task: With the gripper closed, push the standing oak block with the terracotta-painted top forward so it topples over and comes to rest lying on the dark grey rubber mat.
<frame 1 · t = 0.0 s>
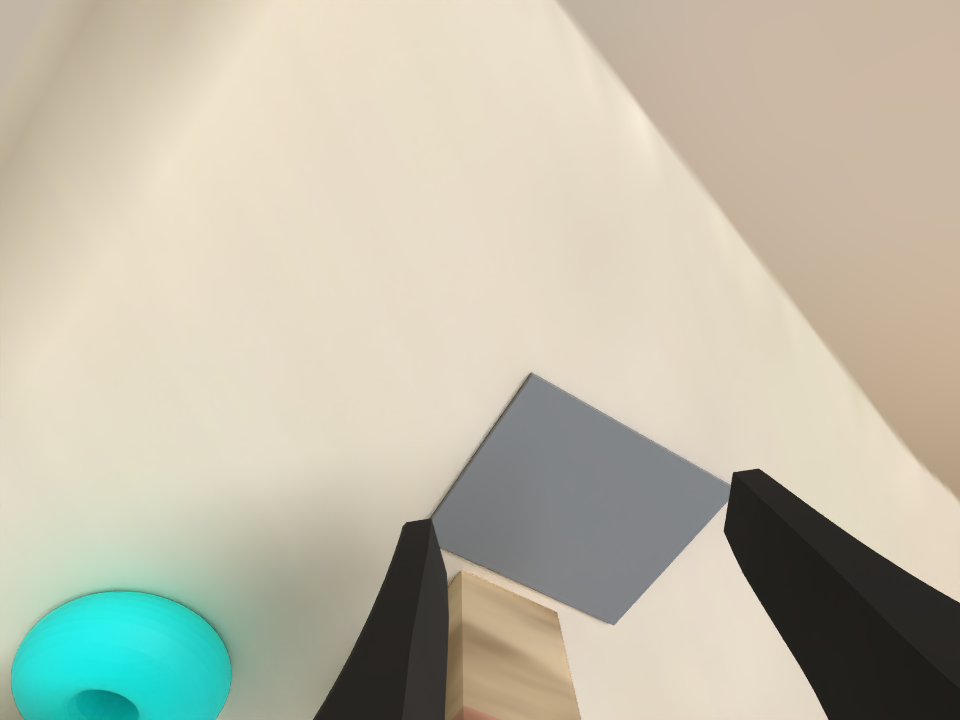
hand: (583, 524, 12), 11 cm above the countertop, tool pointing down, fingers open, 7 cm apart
oak block: (490, 616, 27), on the countertop
rubber mat: (576, 510, 25), on the countertop
donuts: (146, 647, 27), on the countertop
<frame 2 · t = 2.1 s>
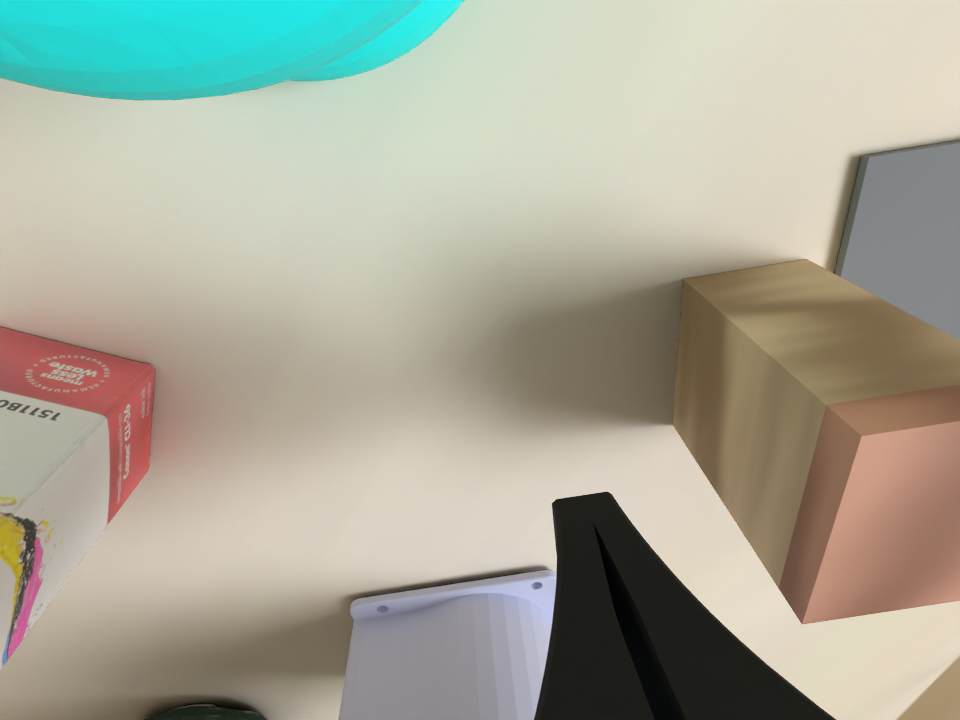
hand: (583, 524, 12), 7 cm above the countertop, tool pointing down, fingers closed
oak block: (733, 349, 18), on the countertop
ink cartridge box: (19, 381, 17), on the countertop
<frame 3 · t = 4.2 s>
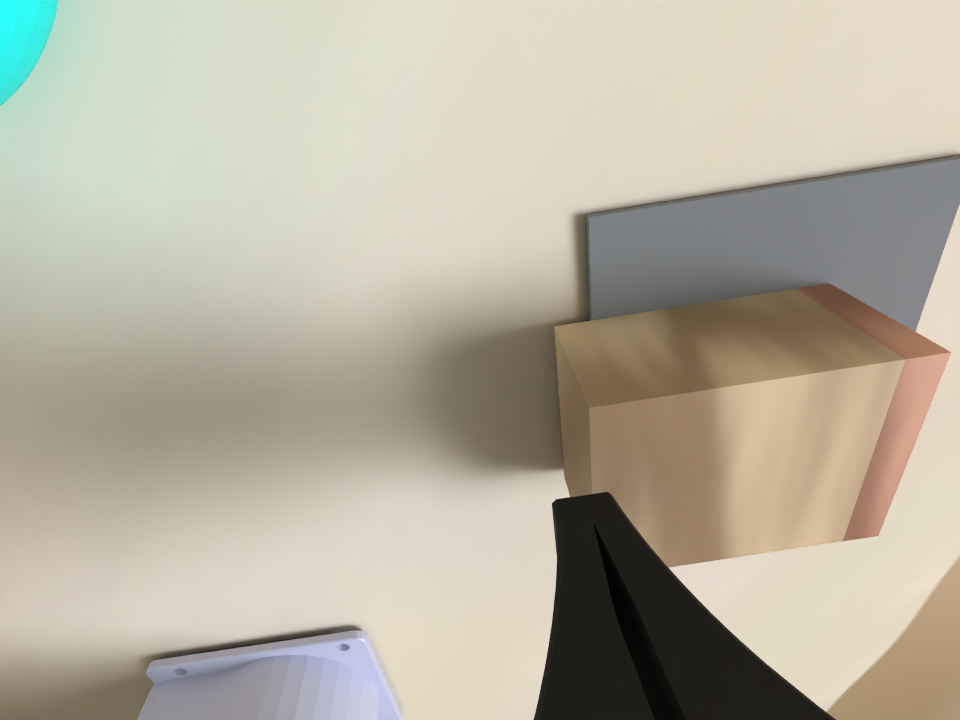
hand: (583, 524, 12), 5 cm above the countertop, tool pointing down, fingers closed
oak block: (574, 450, 14), point 2 cm above the countertop, tilted 90°, touching rubber mat
rubber mat: (744, 375, 16), on the countertop
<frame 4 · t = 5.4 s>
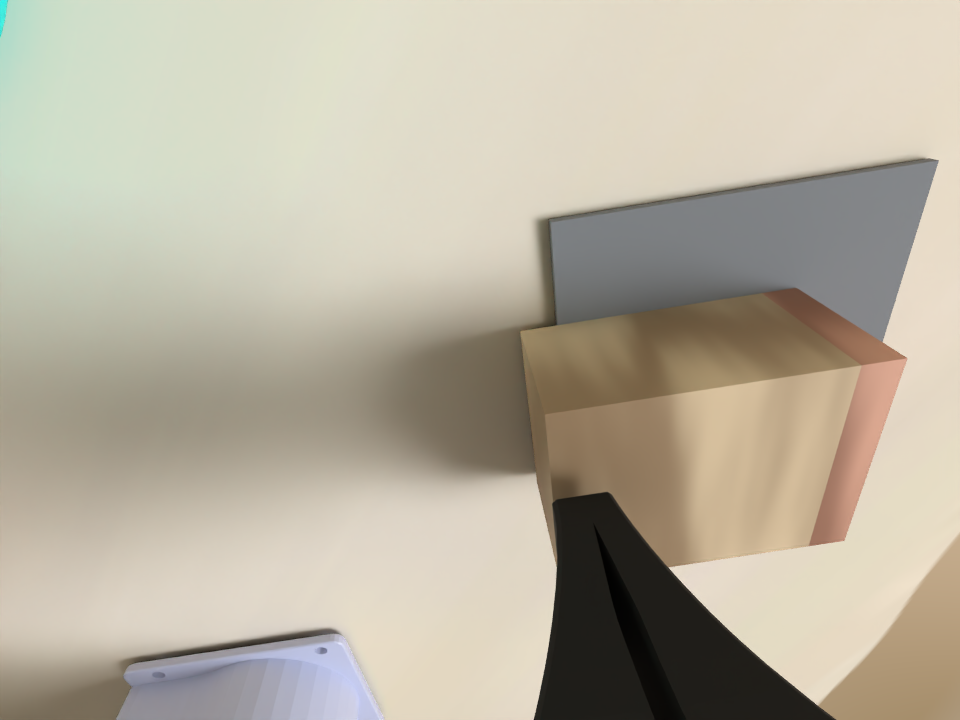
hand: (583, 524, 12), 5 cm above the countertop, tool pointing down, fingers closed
oak block: (540, 455, 14), point 2 cm above the countertop, tilted 90°, touching rubber mat
rubber mat: (715, 379, 16), on the countertop
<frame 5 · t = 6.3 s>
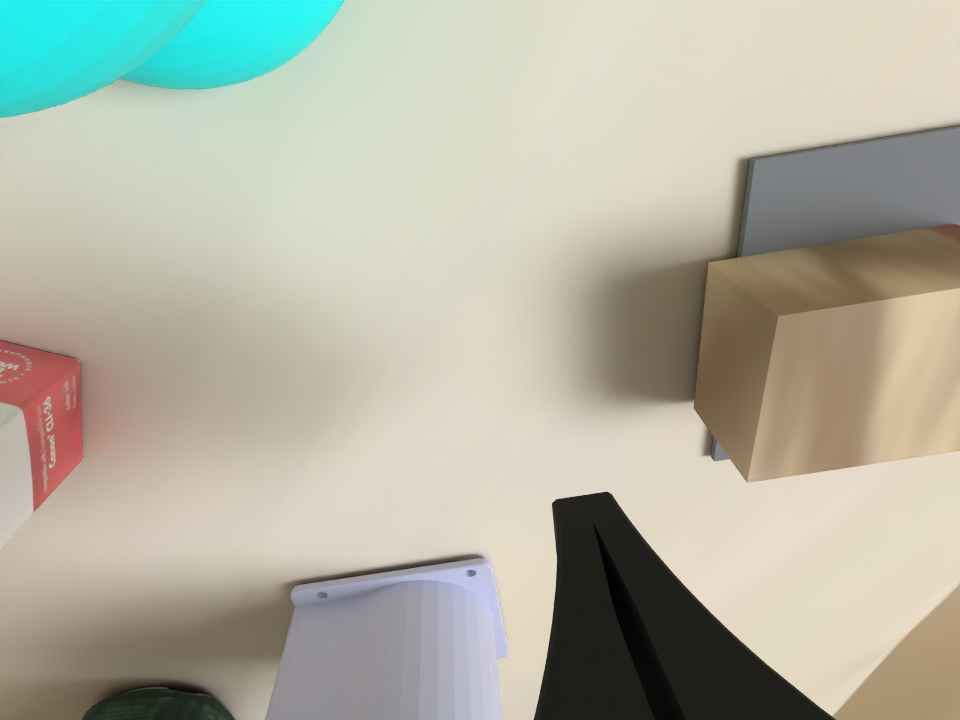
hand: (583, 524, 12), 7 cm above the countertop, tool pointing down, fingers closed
oak block: (727, 371, 16), point 2 cm above the countertop, tilted 90°, touching rubber mat
rubber mat: (865, 311, 18), on the countertop
coffee jar: (178, 719, 30), on the countertop
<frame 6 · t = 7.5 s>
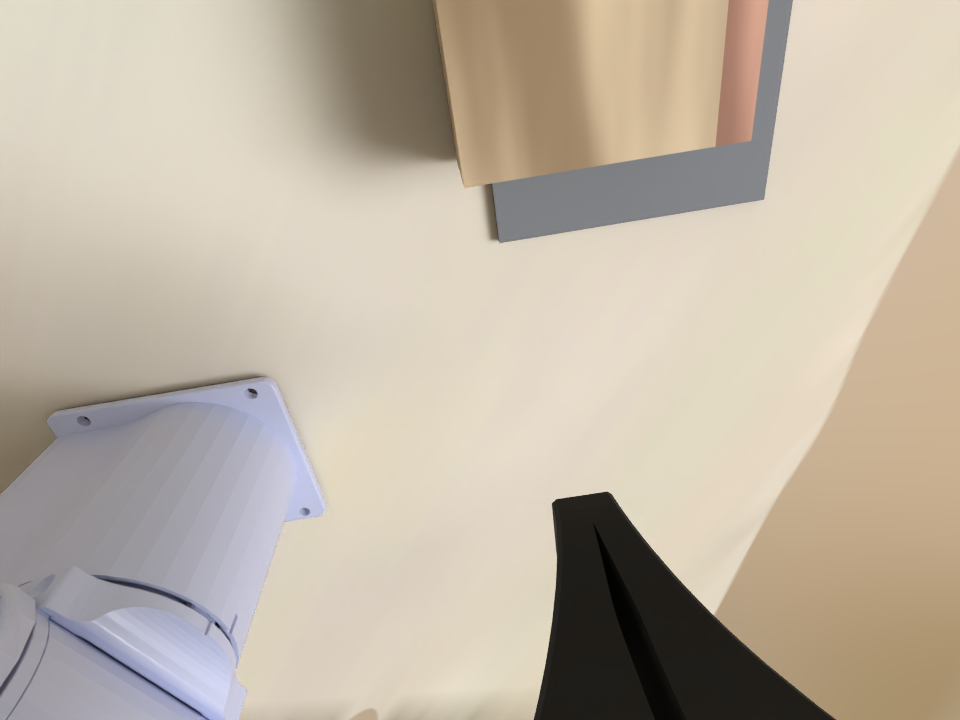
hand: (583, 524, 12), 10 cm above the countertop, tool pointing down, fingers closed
oak block: (443, 63, 14), point 2 cm above the countertop, tilted 90°, touching rubber mat
rubber mat: (631, 32, 16), on the countertop
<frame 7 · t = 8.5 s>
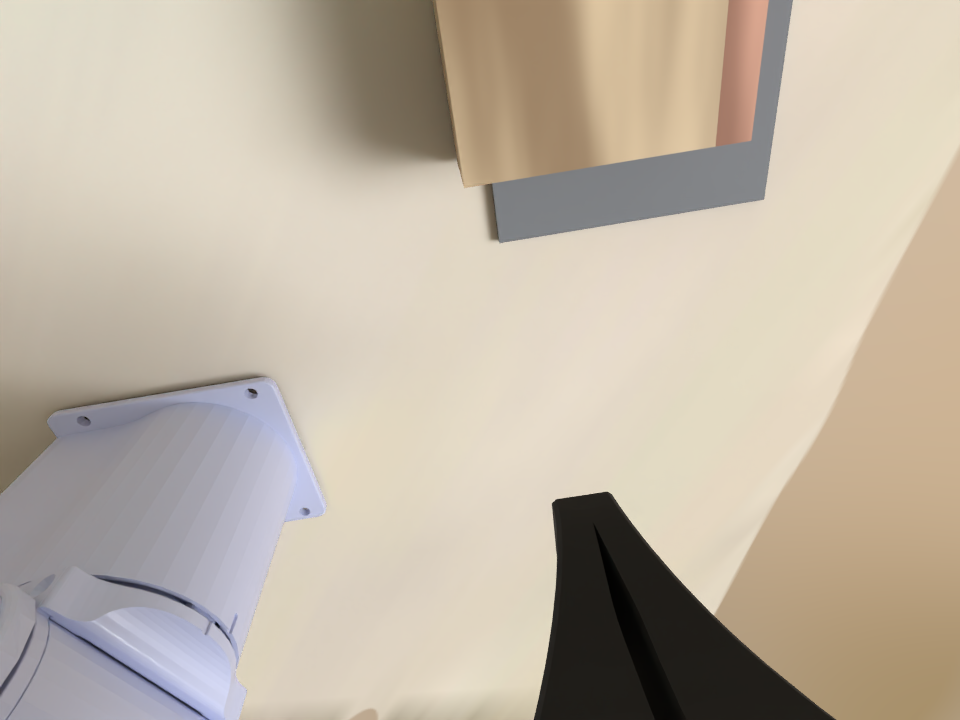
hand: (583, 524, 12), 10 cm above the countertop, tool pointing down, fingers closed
oak block: (443, 63, 14), point 2 cm above the countertop, tilted 90°, touching rubber mat
rubber mat: (631, 32, 16), on the countertop
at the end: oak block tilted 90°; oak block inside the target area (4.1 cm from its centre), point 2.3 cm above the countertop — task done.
